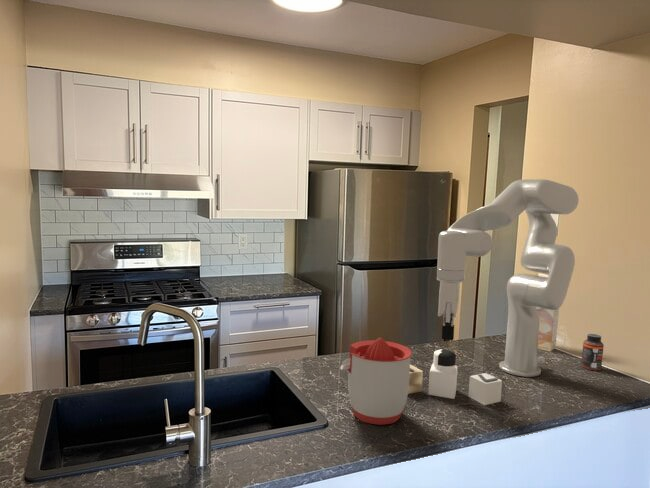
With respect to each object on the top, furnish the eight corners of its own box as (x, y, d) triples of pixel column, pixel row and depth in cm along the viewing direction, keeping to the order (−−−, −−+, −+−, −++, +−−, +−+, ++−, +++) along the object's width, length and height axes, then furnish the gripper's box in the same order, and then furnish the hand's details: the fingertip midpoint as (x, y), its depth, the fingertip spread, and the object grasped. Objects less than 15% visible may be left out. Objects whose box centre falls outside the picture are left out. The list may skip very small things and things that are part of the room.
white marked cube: (484, 393, 136) (485, 372, 135) (500, 401, 130) (502, 379, 130) (468, 396, 133) (469, 375, 132) (484, 405, 127) (486, 382, 127)
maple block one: (408, 383, 141) (409, 363, 140) (421, 391, 135) (423, 370, 135) (392, 386, 138) (393, 365, 137) (404, 394, 132) (405, 373, 132)
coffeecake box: (509, 342, 185) (513, 293, 183) (515, 339, 190) (519, 291, 188) (550, 352, 175) (555, 300, 173) (556, 347, 180) (560, 297, 178)
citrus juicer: (338, 400, 127) (341, 327, 125) (403, 403, 127) (407, 330, 125) (338, 428, 112) (341, 345, 110) (412, 432, 111) (417, 349, 109)
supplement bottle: (599, 372, 155) (602, 339, 154) (579, 368, 159) (582, 335, 158) (603, 368, 160) (606, 335, 159) (583, 363, 164) (586, 331, 162)
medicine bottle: (456, 389, 137) (458, 349, 136) (454, 399, 130) (457, 357, 129) (431, 385, 139) (433, 346, 138) (428, 395, 133) (430, 353, 131)
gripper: (438, 270, 141) (436, 330, 143) (434, 278, 126) (431, 345, 128) (465, 271, 138) (462, 333, 140) (464, 280, 124) (460, 348, 126)
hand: (447, 338), depth 134 cm, fingers closed
